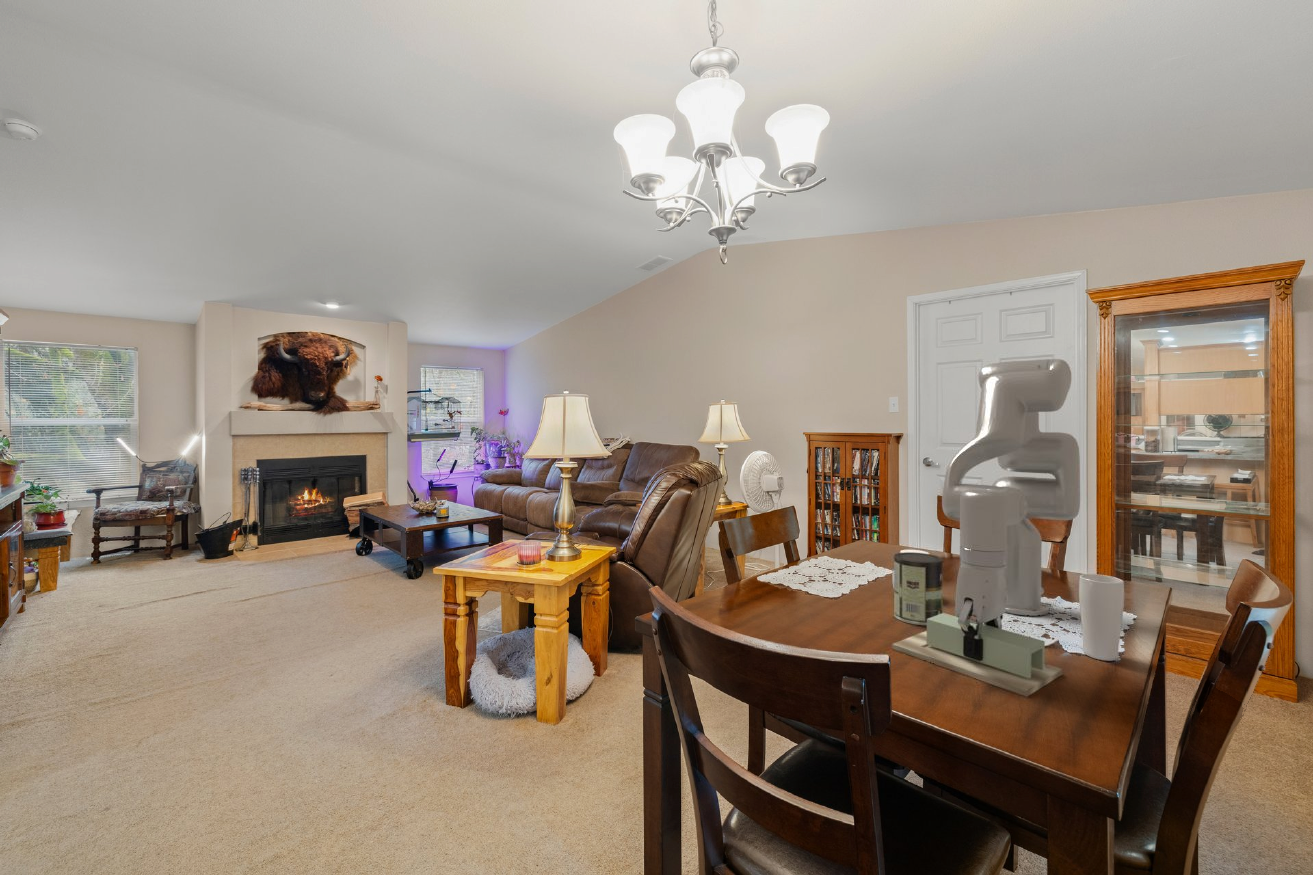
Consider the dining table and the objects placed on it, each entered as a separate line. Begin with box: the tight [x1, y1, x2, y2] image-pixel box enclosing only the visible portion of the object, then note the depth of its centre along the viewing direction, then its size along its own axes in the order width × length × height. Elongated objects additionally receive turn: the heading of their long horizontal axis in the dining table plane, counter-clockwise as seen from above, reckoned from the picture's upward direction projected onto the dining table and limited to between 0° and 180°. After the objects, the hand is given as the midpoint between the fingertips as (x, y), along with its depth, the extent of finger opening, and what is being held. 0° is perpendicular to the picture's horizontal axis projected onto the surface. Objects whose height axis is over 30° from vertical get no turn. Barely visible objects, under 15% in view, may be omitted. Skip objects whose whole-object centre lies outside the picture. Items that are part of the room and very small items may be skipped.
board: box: [891, 630, 1063, 697], centre depth 106 cm, size 14×24×4 cm, turn 35°
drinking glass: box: [1078, 573, 1125, 662], centre depth 108 cm, size 7×7×15 cm
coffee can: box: [893, 552, 944, 627], centre depth 129 cm, size 10×10×14 cm
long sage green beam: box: [926, 612, 1046, 678], centre depth 104 cm, size 6×18×5 cm, turn 35°
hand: (982, 652), depth 105 cm, fingers closed on long sage green beam, 6 cm apart
